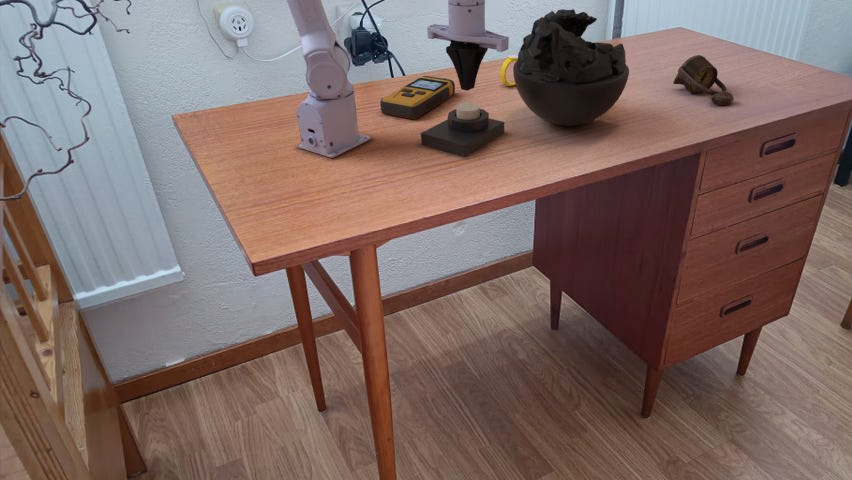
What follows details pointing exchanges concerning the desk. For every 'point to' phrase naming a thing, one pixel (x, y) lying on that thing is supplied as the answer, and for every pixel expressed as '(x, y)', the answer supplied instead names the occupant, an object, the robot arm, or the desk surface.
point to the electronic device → (417, 97)
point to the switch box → (462, 134)
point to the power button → (468, 111)
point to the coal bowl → (568, 70)
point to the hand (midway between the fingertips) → (467, 88)
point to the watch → (504, 67)
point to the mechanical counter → (702, 79)
